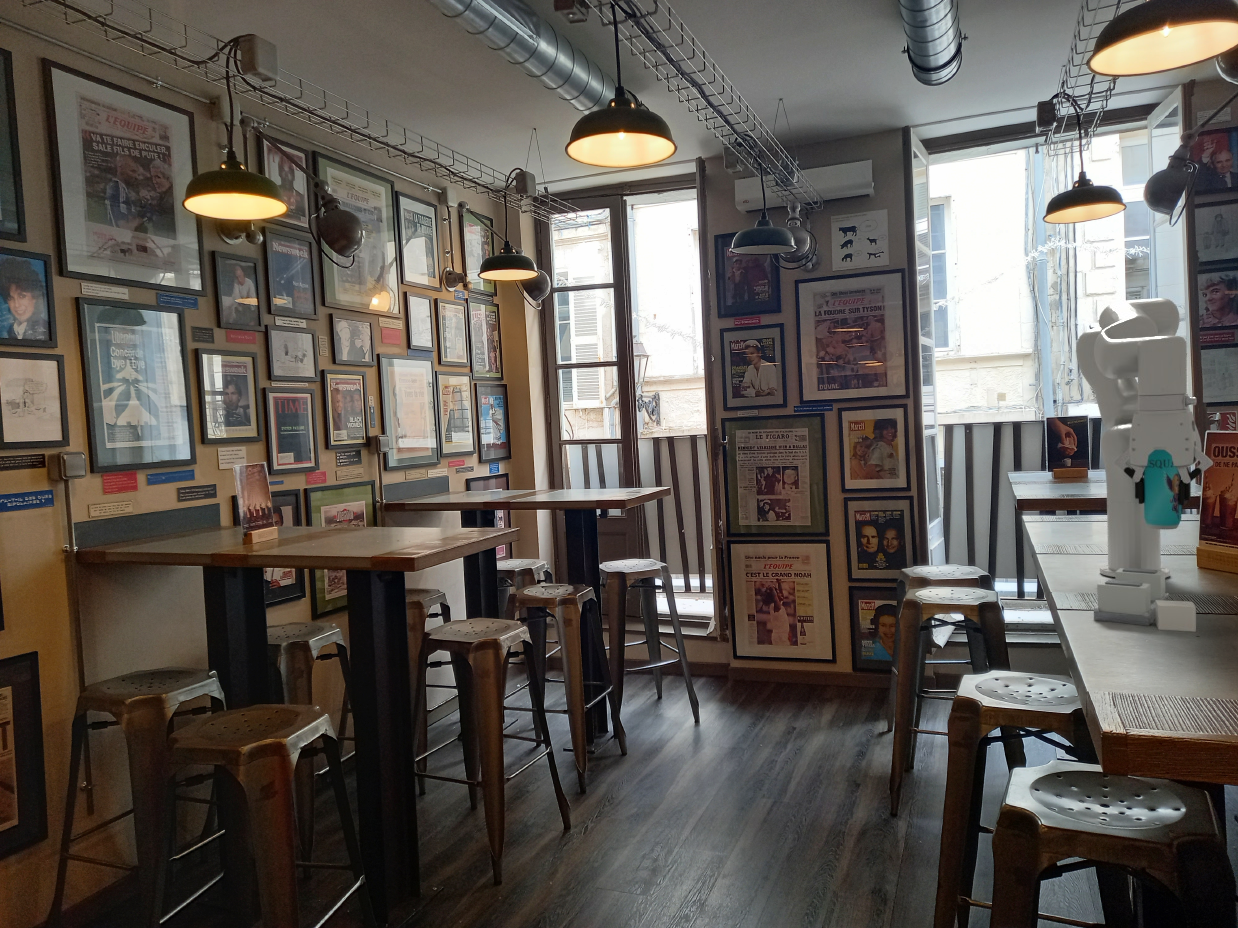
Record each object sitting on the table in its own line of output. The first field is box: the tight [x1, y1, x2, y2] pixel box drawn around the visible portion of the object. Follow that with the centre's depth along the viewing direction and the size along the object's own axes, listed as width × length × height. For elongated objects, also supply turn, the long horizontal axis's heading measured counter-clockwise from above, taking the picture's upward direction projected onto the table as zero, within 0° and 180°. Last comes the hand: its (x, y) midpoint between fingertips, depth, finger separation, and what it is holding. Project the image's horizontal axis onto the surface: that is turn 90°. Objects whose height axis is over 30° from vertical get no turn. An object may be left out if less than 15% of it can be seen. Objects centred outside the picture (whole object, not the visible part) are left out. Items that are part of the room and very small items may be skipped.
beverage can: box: [1144, 447, 1182, 531], centre depth 157 cm, size 6×6×15 cm
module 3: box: [1154, 600, 1197, 632], centre depth 138 cm, size 4×5×4 cm
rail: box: [1093, 592, 1170, 627], centre depth 149 cm, size 18×8×2 cm, turn 139°
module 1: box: [1096, 579, 1151, 615], centre depth 144 cm, size 4×7×5 cm, turn 48°
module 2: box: [1114, 568, 1166, 600], centre depth 154 cm, size 4×7×5 cm, turn 49°
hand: (1162, 502), depth 158 cm, fingers closed on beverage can, 5 cm apart
